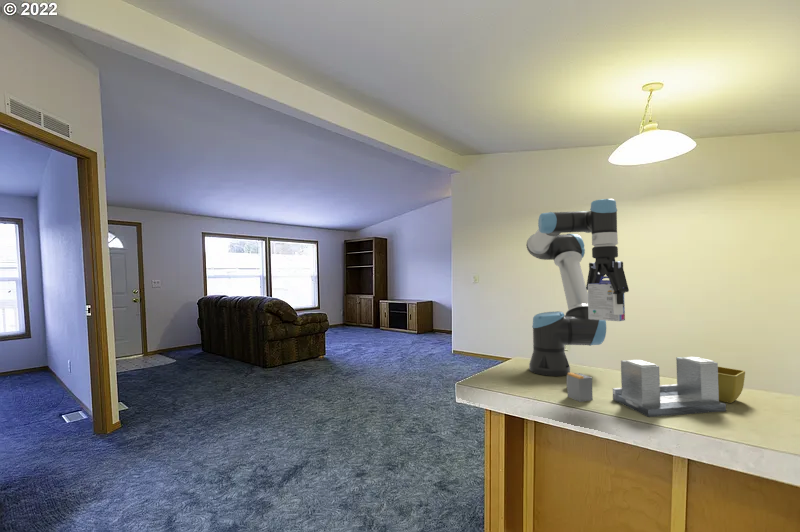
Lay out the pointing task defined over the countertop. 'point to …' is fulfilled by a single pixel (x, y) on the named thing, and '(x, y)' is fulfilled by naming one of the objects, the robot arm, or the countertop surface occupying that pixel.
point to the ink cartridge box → (602, 301)
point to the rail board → (670, 388)
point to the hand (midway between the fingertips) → (606, 312)
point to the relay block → (579, 387)
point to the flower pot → (730, 384)
